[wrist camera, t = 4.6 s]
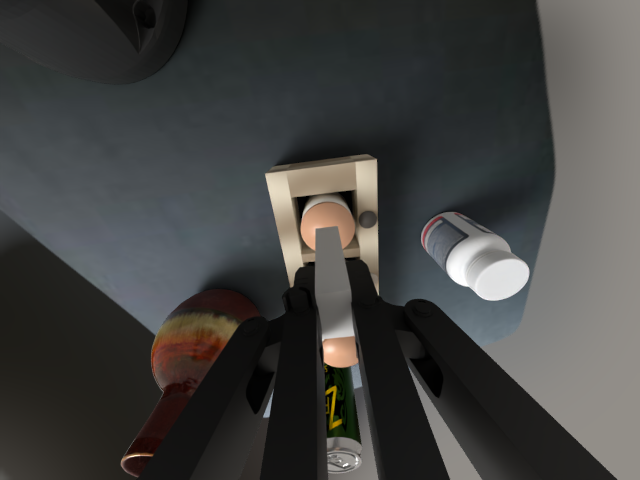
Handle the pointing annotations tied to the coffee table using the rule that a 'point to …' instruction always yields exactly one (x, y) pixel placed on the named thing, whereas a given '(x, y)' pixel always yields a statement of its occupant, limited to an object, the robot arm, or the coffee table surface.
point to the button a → (327, 217)
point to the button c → (340, 351)
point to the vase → (186, 361)
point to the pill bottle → (474, 256)
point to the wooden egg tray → (319, 180)
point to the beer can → (341, 421)
